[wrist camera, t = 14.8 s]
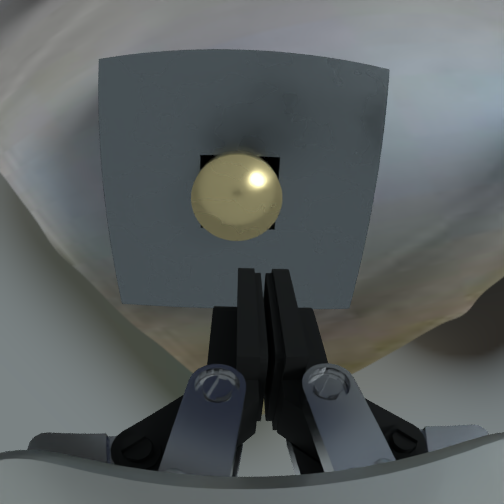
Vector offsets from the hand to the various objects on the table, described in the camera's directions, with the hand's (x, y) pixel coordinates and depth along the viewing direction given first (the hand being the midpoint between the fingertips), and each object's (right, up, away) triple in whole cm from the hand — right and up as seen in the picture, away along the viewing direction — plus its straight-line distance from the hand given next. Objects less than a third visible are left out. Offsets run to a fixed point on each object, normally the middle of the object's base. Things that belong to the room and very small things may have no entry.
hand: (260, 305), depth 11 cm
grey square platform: (-2, +10, +19) cm, 21 cm away
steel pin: (-2, +10, +18) cm, 21 cm away
